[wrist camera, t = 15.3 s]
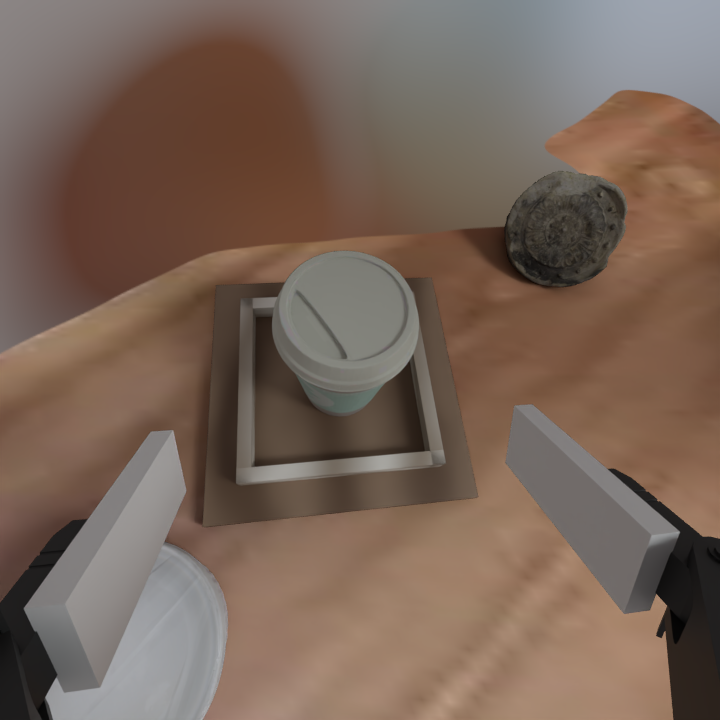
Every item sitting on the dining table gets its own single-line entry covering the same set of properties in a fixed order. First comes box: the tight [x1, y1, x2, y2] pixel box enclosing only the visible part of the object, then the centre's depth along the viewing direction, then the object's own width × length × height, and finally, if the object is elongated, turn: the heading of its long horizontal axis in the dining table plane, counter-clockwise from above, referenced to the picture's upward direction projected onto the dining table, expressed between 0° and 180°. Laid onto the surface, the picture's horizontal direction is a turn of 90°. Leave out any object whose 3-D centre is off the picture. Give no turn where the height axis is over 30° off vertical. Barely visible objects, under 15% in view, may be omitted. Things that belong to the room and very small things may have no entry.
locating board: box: [203, 278, 478, 527], centre depth 31 cm, size 20×20×2 cm
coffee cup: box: [272, 251, 419, 416], centre depth 26 cm, size 8×9×12 cm
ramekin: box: [45, 542, 228, 720], centre depth 22 cm, size 11×11×5 cm
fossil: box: [504, 171, 627, 287], centre depth 38 cm, size 11×9×10 cm
